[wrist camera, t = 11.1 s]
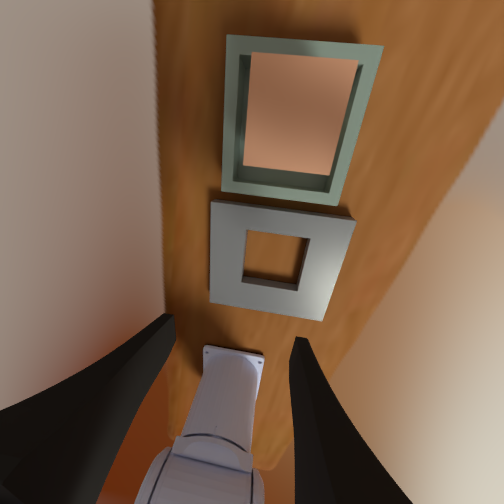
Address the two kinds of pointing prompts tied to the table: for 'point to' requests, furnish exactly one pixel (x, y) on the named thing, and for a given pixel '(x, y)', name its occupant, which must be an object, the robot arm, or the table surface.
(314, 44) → the tray
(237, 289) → the holder board
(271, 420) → the table surface
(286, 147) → the block
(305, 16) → the table surface
